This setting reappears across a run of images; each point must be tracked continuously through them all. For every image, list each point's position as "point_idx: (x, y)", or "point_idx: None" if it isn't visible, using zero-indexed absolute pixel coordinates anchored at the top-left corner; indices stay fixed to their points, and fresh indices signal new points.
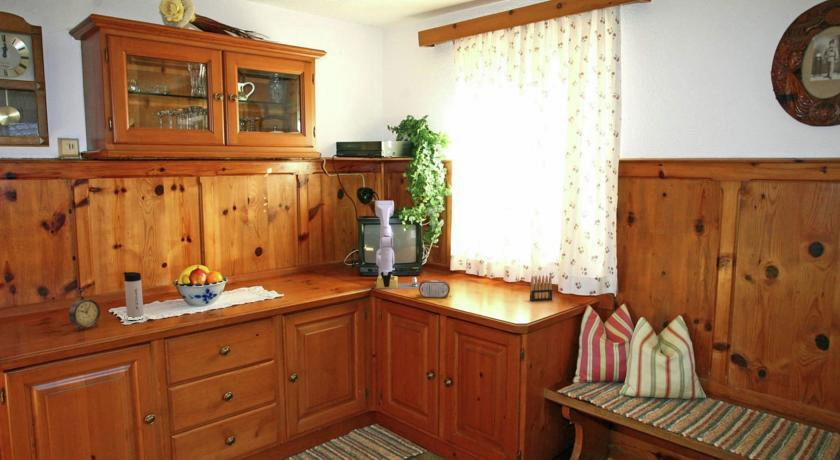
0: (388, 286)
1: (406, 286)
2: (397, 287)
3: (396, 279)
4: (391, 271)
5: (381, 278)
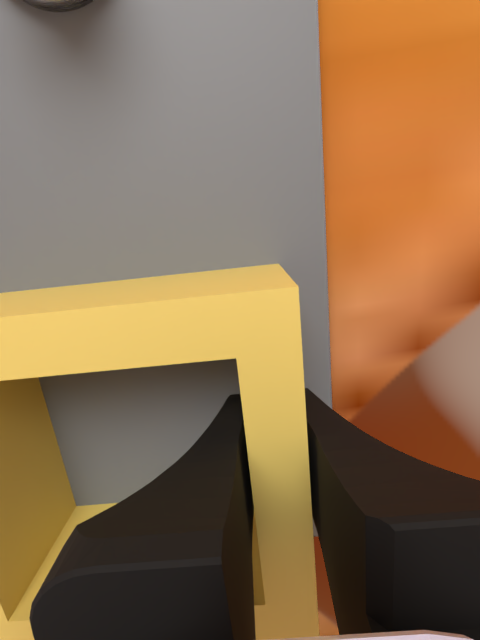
0: (311, 392)
1: (135, 100)
2: (235, 255)
3: (198, 302)
4: (40, 608)
5: (22, 582)
